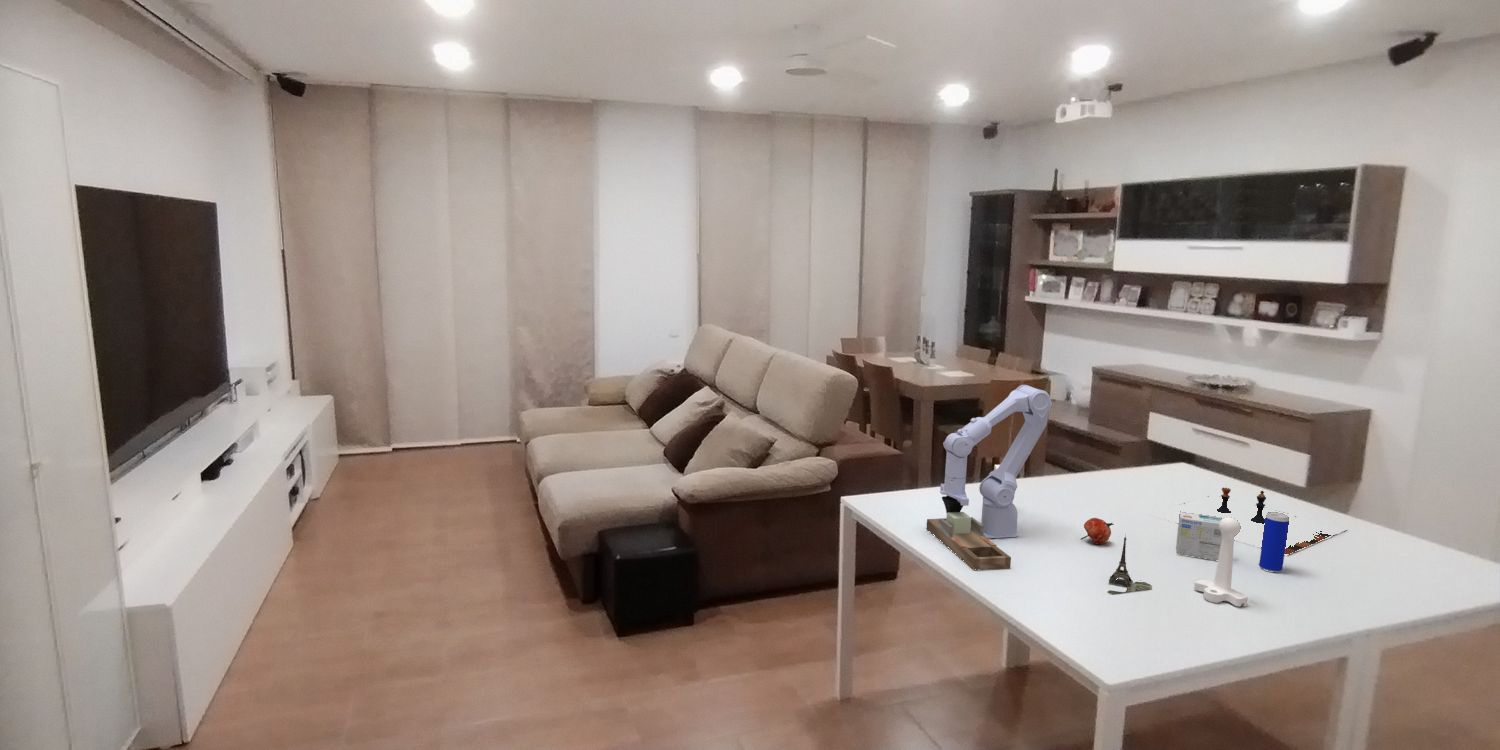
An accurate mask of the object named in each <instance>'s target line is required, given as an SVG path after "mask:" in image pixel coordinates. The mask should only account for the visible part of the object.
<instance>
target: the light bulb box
mask: <svg viewBox="0 0 1500 750" xmlns="http://www.w3.org/2000/svg"><path fill="white" fill-rule="evenodd" d="M1221 520H1222V517H1216V516H1209V515H1202V514H1194V513H1186V512H1181V511H1180V514H1179V523H1177V525H1178V526H1177V535H1176V545H1175V551H1176V553H1177V554H1180V555H1179V556H1183V555H1188V556H1187V557H1189V556H1194V557H1193V558H1195V557H1200V558H1199V559H1201V558H1206V559H1205V560H1207V559H1212V560H1211V561H1214V560H1218V559H1219V553H1220V548H1221V543H1222V538H1223V535H1222V532H1221V531H1220V529H1219V523H1220V521H1221ZM1177 554H1176V555H1177Z"/></svg>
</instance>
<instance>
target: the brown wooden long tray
mask: <svg viewBox="0 0 1500 750" xmlns="http://www.w3.org/2000/svg"><path fill="white" fill-rule="evenodd" d="M970 517H971V529H970V533H966V534H953V526H951V525H950V524H949V523H948V522H946V518H944V517H941V518H927V519H926V530H927V531H928V532H929V531H930V532H931V533H930V532H929V533H930V534H932V535H933V534H934V535H935V536H936V537H937V538H938V539H937V538H936V537H935V536H934V535H933V536H934V537H935V538H936V539H937V540H939V539H940V540H941V541H942V542H943V543H944V544H945V545H946V546H945V545H944V544H943V543H942V542H941V541H940V540H939V541H940V542H941V543H942V544H943V545H944V546H945V547H946V548H948V547H949V548H950V549H951V550H952V551H953V552H954V553H953V552H952V551H951V550H950V549H949V548H948V549H949V550H950V551H951V552H952V553H953V554H955V553H956V554H957V555H958V556H959V557H960V558H961V560H962V559H963V560H964V561H965V562H966V563H967V564H968V565H969V566H968V565H967V564H966V563H965V562H964V561H963V560H962V561H963V562H964V563H965V564H966V565H967V566H968V567H970V568H971V567H972V568H973V569H974V570H973V569H972V568H971V569H972V570H973V571H979V570H978V569H992V570H1005V569H1006V570H1007V569H1011V564H1012V557H1011V556H1010V555H1009V554H1007V552H1004V551H1003V550H1002V549H1001V548H999V547H998V546H997V544H996V543H994V541H992V540H990V538H986V537H985V536H983V529H984V525H982V524H981V521H980V522H979V521H978V520H977V519H976V518H974V517H973V516H970ZM956 554H955V555H956ZM957 555H956V556H957ZM958 556H957V557H958ZM959 557H958V558H959ZM960 558H959V559H960ZM975 569H977V570H975Z"/></svg>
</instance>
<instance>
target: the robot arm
mask: <svg viewBox="0 0 1500 750" xmlns="http://www.w3.org/2000/svg"><path fill="white" fill-rule="evenodd" d="M1052 406H1053V402H1052V400H1051V396H1050V395H1049V392H1047V391H1046V390H1042V389H1039V388H1035V387H1033V386H1030V385H1028V384H1021V385H1019V386H1018V387H1017V388H1016V389H1014V390H1011V392H1010V393H1009V395H1008V396H1007V397H1006V398H1005V399H1004V400H1003V401H1002V402H1001V403H999V404H998V405H997V406H996V407H994V408H993V409H992V410H991V411H990V412H988V413H987V414H986V415H985V416H983V417H982V416H977V417H972V418H971V419H970V422H969V423H967V424H966V425H964V426H963V427H962V428H959V429H958V430H957V431H956V432H952V433H950V434H948V435H947V436H946V438H945V440H944V441H943V443H942V444H943V447H944V449H945V451H946V456H945V457H946V458H945V469H944V483H940V486H939V487H940V491H939V493H940V494H941V495H944V496H941V500H942V502H943V504H944V507H945V512H946V514H947V513H949V512H962V509H963V507H964V506H965V507H967V506H969V505H970V503H969V502H970V499H969V497H968V495H967V492H966V482H967V480H966V479H967V467H968V466H967V465H968V464H967V463H968V455H970V454H971V452H973V451H972V450H973V448H974V447H975V445H977V444H978V443H979V442H981V441H982V440H984V438H986V437H987V436H989V435H990V434H991V432H992V427H994V426H995V425H997V424H998V423H1000V422H1001V421H1003V420H1004V419H1006V418H1008V417H1009V416H1010V415H1013V414H1014V413H1016V412H1022V414H1023V415H1022V416H1023V417H1024V423H1023V425H1022V426H1021V429H1020V430H1019V432H1017V433H1018V434H1017V435H1016V437H1015V438H1014V440H1013V442H1012V443H1011V446H1010V447H1009V449H1008V451H1007V452H1006V454H1005V456H1004V457H1003V459H1002V461H1001V462H1000V464H999V465H1000V466H999V468H998V469H996V470H994V469H993V470H991V471H990V472H989V474H988V476H986V477H985V478H984V479H982V481H981V482H980V484H979V490H978V491H979V493H980V494H981V496H982V507H981V509H982V510H981V521H980V523H981V524H982V525H984V529H983V536H985V537H986V538H988V539H1003V538H1017V537H1018V534H1017V528H1018V527H1017V526H1018V518H1019V517H1018V516H1019V515H1018V510H1017V507H1016V505H1015V504H1014V502H1013V501H1014V499H1015V493H1016V491H1017V488H1018V483H1017V476H1018V475H1019V474H1020V472H1021V470H1022V468H1023V466H1024V464H1025V463H1026V461H1027V459H1028V457H1029V456H1030V454H1031V453H1032V451H1033V449H1034V447H1035V446H1036V444H1037V443H1038V441H1039V439H1040V437H1041V436H1042V434H1043V432H1044V430H1045V428H1046V427H1047V424H1048V419H1049V413H1050V412H1049V411H1050V409H1051V408H1052ZM1012 502H1013V504H1012Z"/></svg>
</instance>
